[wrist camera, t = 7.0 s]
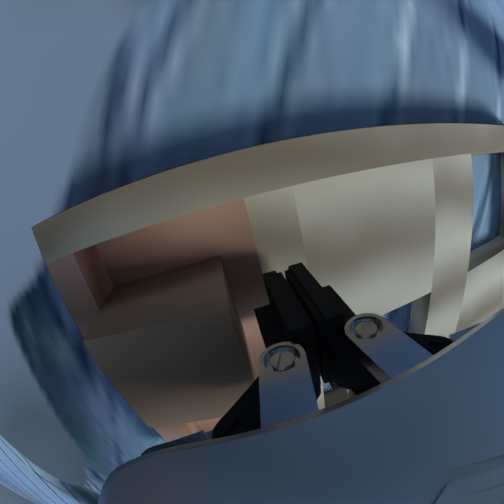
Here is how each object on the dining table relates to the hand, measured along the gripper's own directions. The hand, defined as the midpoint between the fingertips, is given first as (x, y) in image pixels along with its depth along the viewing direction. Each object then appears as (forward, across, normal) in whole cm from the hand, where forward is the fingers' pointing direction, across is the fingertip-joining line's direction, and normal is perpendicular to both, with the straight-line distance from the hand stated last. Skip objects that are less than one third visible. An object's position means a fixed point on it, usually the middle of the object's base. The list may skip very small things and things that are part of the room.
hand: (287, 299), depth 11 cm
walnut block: (+1, +5, 0) cm, 5 cm away
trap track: (+3, -7, +4) cm, 9 cm away
